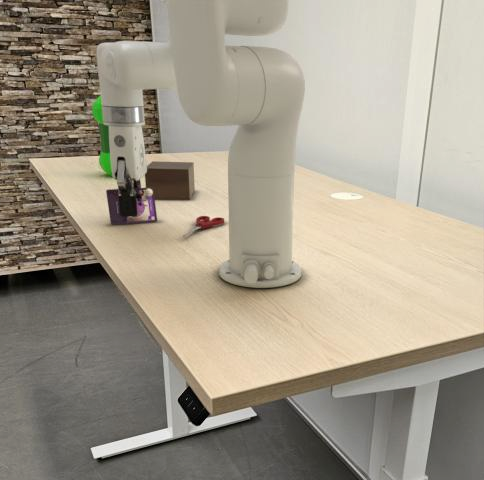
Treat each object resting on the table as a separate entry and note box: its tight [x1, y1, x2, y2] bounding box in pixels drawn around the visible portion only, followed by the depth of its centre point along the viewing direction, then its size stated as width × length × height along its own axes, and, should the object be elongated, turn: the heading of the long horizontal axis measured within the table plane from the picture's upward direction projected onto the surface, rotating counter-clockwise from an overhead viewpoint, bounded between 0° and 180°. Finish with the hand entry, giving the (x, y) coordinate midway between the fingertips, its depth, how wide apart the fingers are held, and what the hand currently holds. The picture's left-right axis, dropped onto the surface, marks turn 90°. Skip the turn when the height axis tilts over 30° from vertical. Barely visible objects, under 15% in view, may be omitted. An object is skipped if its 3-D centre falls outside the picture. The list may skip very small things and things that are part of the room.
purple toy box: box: [105, 187, 158, 226], centre depth 115 cm, size 7×5×9 cm
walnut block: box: [144, 160, 196, 201], centre depth 137 cm, size 10×10×7 cm
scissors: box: [183, 215, 225, 237], centre depth 111 cm, size 5×14×1 cm, turn 164°
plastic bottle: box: [91, 94, 113, 178], centre depth 154 cm, size 10×10×25 cm
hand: (131, 211), depth 115 cm, fingers closed on purple toy box, 4 cm apart
